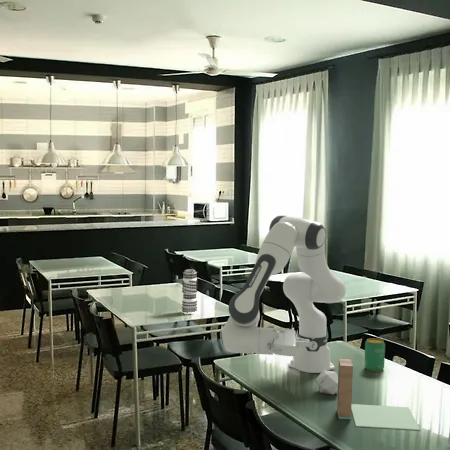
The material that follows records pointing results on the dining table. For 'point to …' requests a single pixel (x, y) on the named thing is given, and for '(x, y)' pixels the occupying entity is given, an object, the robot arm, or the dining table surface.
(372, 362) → the beverage can
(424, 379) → the dining table surface
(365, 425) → the green mat
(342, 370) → the walnut block
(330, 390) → the die
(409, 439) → the dining table surface
